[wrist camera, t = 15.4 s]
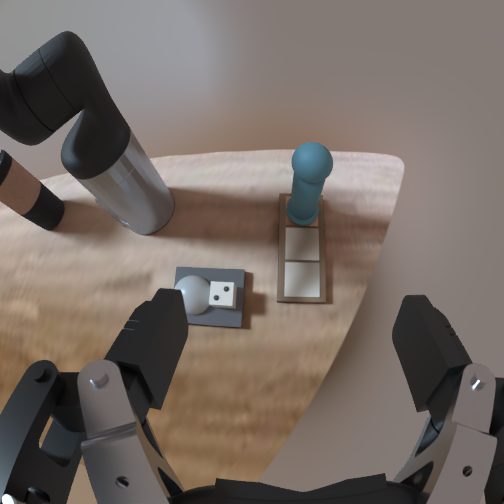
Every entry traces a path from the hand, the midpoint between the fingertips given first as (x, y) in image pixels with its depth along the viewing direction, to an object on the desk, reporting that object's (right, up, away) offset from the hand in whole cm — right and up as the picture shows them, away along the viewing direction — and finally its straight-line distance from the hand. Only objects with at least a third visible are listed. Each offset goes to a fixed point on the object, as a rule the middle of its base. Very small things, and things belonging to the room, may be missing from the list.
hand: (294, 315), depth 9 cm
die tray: (-7, -5, +31) cm, 32 cm away
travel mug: (-44, +10, +37) cm, 58 cm away
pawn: (+6, +8, +31) cm, 33 cm away
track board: (+6, +3, +31) cm, 31 cm away
